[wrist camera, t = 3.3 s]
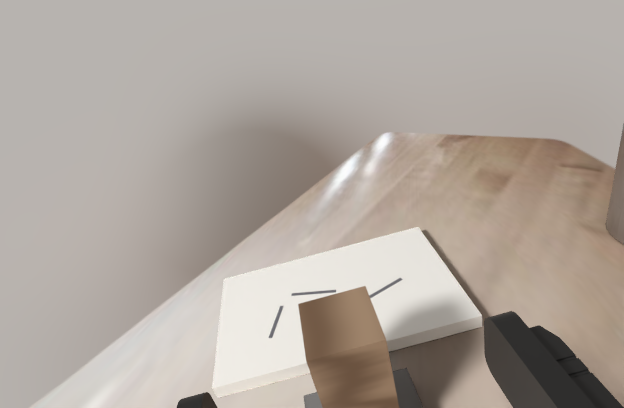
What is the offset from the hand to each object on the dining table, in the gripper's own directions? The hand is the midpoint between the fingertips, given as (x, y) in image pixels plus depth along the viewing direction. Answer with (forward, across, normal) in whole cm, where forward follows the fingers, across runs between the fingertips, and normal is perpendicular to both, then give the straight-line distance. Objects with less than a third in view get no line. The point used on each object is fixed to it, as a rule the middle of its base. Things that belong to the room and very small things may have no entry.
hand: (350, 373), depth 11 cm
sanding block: (+11, 0, +21) cm, 24 cm away
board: (+26, 0, +21) cm, 33 cm away
